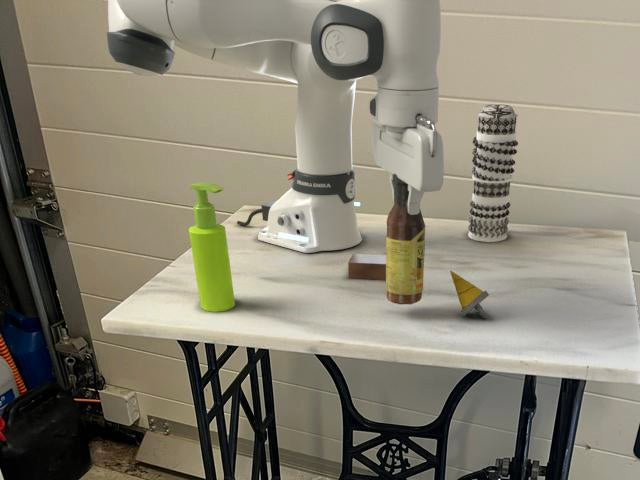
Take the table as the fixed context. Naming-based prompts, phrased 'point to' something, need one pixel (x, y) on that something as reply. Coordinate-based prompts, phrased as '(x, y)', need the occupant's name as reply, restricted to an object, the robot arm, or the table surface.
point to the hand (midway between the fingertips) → (405, 208)
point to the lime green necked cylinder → (210, 253)
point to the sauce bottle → (404, 250)
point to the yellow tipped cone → (469, 295)
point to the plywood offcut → (367, 266)
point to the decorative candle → (492, 173)
